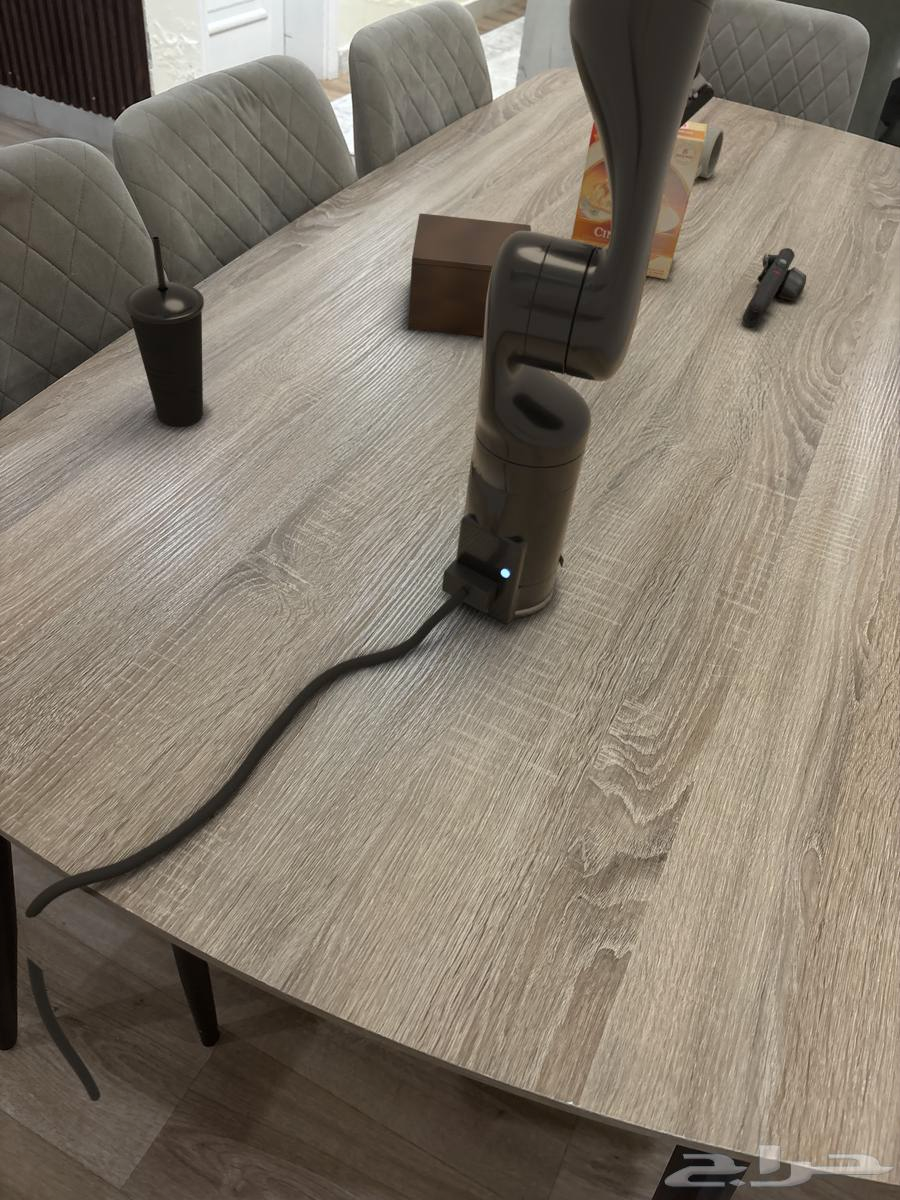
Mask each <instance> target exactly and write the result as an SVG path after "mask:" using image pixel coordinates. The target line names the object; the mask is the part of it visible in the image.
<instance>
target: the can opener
mask: <svg viewBox="0 0 900 1200" xmlns="http://www.w3.org/2000/svg"><path fill="white" fill-rule="evenodd" d="M794 259H795V252H794V251H793V249H792V248H789V247H785V248H782V249H780V251H778V254H771V253H768V254H767V253H764V254H763V258H761V259H760V260H761V261H762V268H763V269H762V271H761V273H760V274H759V275H758V276H757V281H758V283H759V284H758V286H757V288H756V290H755V291H754V294H753V295H752V298H751V299H750V301H749V303H748V304H747V306H746V308H745V310H744V313H743V316H742V321H743V323H744V324H745V325H746V326H748V327H755V326H757V325H758V324H759V323H760V321H761V320H762V318H763V317H764V315H765V313H766V312H767V310H768V309H769V307H770V304H771V302H772V300H773V299H774V297H775V295H776V294H777V297H779V298H782V299H786V300H788V301H791V302H792V301H794V300H796V299H797V298H798V297H799V296H800V295H801V293H802V292H803V290H804V289H805V286H806V283H807V274H805V273H804V272H802V271H801V270H799V269H798V268H797V267H795V266H793V267H792V268H790V266H791V264H792V262H793V261H794Z"/></svg>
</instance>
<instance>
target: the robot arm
mask: <svg viewBox="0 0 900 1200" xmlns="http://www.w3.org/2000/svg"><path fill="white" fill-rule="evenodd" d="M716 2H717V0H570V1H569V6H568V16H567V17H568V19H567V20H568V21H567V22H568V23H567V24H568V32H569V40H570V45H571V50H572V54H573V58H574V61H575V65H576V69H577V72H578V76H579V80H580V83H581V86H582V89H583V92H584V95H585V98H586V101H587V104H588V107H589V110H590V114H591V116H592V119H593V122H594V123H595V126H596V129H597V133H598V137H599V140H600V144H601V148H602V153H603V158H604V162H605V167H606V172H607V177H608V184H609V192H610V200H611V232H610V240H609V244H608V245H607V246H605V247H603V246H596V245H593V244H588V243H583V242H579V241H574V240H571V239H569V238H565V237H559V236H554V235H550V234H545V233H542V232H537V231H532V230H531V231H518V232H515V233H513V234H511V235H510V236H509V237H508V238H507V239H506V240H505V241H504V243H503V244H502V246H501V248H500V249H499V251H498V253H497V256H496V258H495V261H494V264H493V267H492V271H491V275H490V280H489V285H488V291H487V297H486V308H485V319H484V336H482V337H483V338H482V339H483V340H482V354H481V355H482V357H481V358H482V359H481V370H480V371H481V372H480V380H479V389H478V398H477V410H476V411H477V412H476V419H475V426H474V427H475V429H474V435H473V443H472V451H471V456H470V465H469V471H468V472H469V474H468V481H467V489H466V497H465V503H464V512H463V516H462V518H461V519H460V524H459V531H458V532H459V533H458V540H457V548H456V555H455V556H456V558H455V560H454V561H453V562H452V563H450V564H449V565H448V566H447V568H446V569H444V571H443V577H442V578H443V579H442V588H441V591H442V592H444V593H446V594H448V595H450V598H449V599H447V600H446V601H445V602H444V603H443V604H442V605H441V606H440V607H438V608H437V610H436V611H435V612H434V613H432V614H431V616H430V617H428V618H427V619H426V620H425V622H423V624H421V626H420V627H419V628H418V630H416V631H415V632H414V634H413V635H412V636H411V637H409V638H408V639H405V640H404V641H403V642H401V643H400V644H398V645H395V646H393V647H390V648H388V649H385V650H381V651H378V652H374V653H370V654H364V655H360V656H357V657H353V658H350V659H347V660H344V661H341V662H340V663H337V664H335V665H334V666H332V667H329V668H328V669H327V670H325V671H324V672H322V673H321V674H318V676H317V677H315V678H314V679H313V680H311V681H310V683H308V684H307V685H306V686H304V687H303V689H302V690H301V691H299V693H298V694H297V695H296V696H295V697H294V698H293V699H292V700H291V702H289V704H287V706H286V708H285V709H284V710H283V711H282V712H281V714H279V715H278V717H277V718H275V720H274V721H273V722H272V724H271V725H269V727H268V728H267V729H266V730H265V731H264V733H262V735H261V736H260V738H259V739H258V740H257V741H256V743H255V744H254V746H253V747H252V749H251V750H250V751H249V753H248V754H247V755H246V757H245V759H244V760H243V761H242V763H241V764H240V765H239V767H238V768H237V770H236V771H235V772H234V774H232V776H231V777H230V779H229V780H228V781H227V782H226V783H225V784H224V785H223V786H222V787H221V789H219V791H217V792H216V793H215V794H214V795H213V796H212V797H211V798H210V799H209V800H208V801H207V802H206V803H204V805H203V806H201V807H200V808H199V809H198V810H197V811H196V812H194V813H193V814H192V815H191V816H190V817H188V818H187V819H186V820H185V821H183V822H182V823H180V824H179V825H178V826H177V827H175V828H174V829H172V830H171V831H169V832H168V833H167V834H165V835H164V836H162V837H161V838H159V839H158V840H156V841H154V842H153V843H151V844H149V845H147V846H146V847H144V848H142V849H140V850H139V851H137V852H135V853H134V854H132V855H130V856H128V857H126V858H124V859H121V860H119V861H117V862H114V863H110V864H108V865H104V866H102V867H98V868H97V867H96V868H93V869H90V870H87V871H83V872H80V873H76V874H73V875H70V876H67V877H65V878H62V879H60V880H58V881H56V882H54V883H52V884H51V885H49V886H47V887H46V888H45V889H43V891H41V892H40V893H39V894H37V895H36V896H35V898H33V900H32V901H31V902H30V904H29V905H28V907H27V908H26V910H25V912H24V914H25V917H26V918H29V919H31V918H32V919H33V918H36V917H37V916H38V915H40V914H41V913H42V912H43V910H45V908H46V907H47V906H48V905H49V904H51V903H52V902H53V901H54V900H56V899H57V898H59V897H60V896H62V895H65V894H66V893H69V892H72V891H75V890H77V889H79V887H80V888H83V887H86V886H89V885H93V884H97V883H100V882H104V881H108V880H111V879H114V878H116V877H119V876H122V875H125V874H126V873H129V872H131V871H133V870H134V869H137V868H139V867H140V866H142V865H144V864H146V863H147V862H150V861H151V860H152V859H155V858H156V857H158V856H159V855H160V854H162V853H164V852H166V851H167V850H169V849H170V848H172V847H173V846H174V845H176V844H178V843H179V842H180V841H182V840H183V839H184V838H186V837H187V836H188V835H190V834H191V833H192V832H194V831H195V830H196V829H197V828H199V827H200V826H201V825H202V824H204V822H205V821H207V820H208V819H209V818H210V817H211V816H212V815H213V814H215V812H217V810H219V808H221V807H222V806H224V804H225V803H226V802H227V801H228V800H229V799H230V798H231V797H232V796H233V794H235V792H237V790H238V789H239V788H240V786H241V785H242V784H243V783H244V781H245V780H246V778H248V776H249V775H250V773H251V772H252V770H253V769H254V767H255V766H256V765H257V763H258V761H259V760H260V759H261V757H262V756H263V754H265V751H266V750H267V749H268V747H269V746H270V744H272V742H273V741H274V740H275V739H276V738H277V736H279V734H280V733H281V732H282V731H283V730H284V729H285V728H286V726H287V725H288V724H289V722H290V721H291V720H292V719H293V718H294V716H296V714H298V712H299V711H300V710H301V708H302V707H303V706H304V705H305V704H306V703H307V702H308V701H309V699H311V697H313V695H315V694H316V693H317V692H318V691H319V690H320V689H322V688H323V687H325V686H326V685H328V684H329V683H330V682H331V681H333V680H334V679H336V678H338V677H340V676H341V675H343V674H346V673H348V672H351V671H354V670H356V669H360V668H365V667H369V666H372V665H376V664H380V663H385V662H387V661H391V660H393V659H396V658H399V657H401V656H403V655H405V654H407V653H409V652H410V651H412V650H413V649H415V648H417V646H419V645H420V644H421V643H422V642H423V641H424V640H425V639H426V638H427V637H428V635H430V633H431V632H432V631H433V630H434V628H436V627H437V626H438V624H440V623H441V622H442V621H443V620H444V619H445V618H446V617H447V616H448V615H449V614H450V613H451V612H452V611H453V610H454V609H456V608H457V606H458V605H460V604H461V603H462V602H463V603H465V604H467V605H469V606H470V607H472V608H473V609H475V610H478V611H480V612H481V613H483V614H486V615H488V616H490V617H491V618H494V619H496V620H498V621H500V623H503V624H506V625H507V624H509V623H510V622H511V621H512V620H513V619H515V618H522V617H527V616H530V615H533V614H535V613H537V612H539V611H540V610H542V609H543V608H545V607H546V606H547V605H548V604H549V602H550V601H551V600H552V597H553V594H554V590H555V585H556V576H557V573H558V569H559V565H560V567H561V569H563V565H564V561H565V560H564V557H563V555H562V551H563V546H564V542H565V538H566V534H567V529H568V525H569V522H570V521H569V520H570V517H571V512H572V508H573V504H574V499H575V495H576V491H577V486H578V482H579V479H580V478H579V477H580V473H581V470H582V466H583V462H584V458H585V457H584V456H585V453H586V448H587V445H588V441H589V437H590V436H589V435H590V431H591V426H592V414H591V410H590V407H589V405H588V403H587V401H586V400H585V399H584V397H583V396H582V395H581V394H580V393H579V392H578V391H577V390H576V389H575V388H574V387H572V386H571V385H570V384H569V383H566V382H565V381H563V380H562V379H561V378H560V377H558V376H556V375H555V374H554V373H556V374H561V375H566V376H570V377H574V378H578V379H582V380H587V381H593V382H600V383H601V382H607V381H608V380H610V379H612V378H613V377H614V376H615V375H616V374H617V373H618V371H619V370H620V368H621V367H622V364H623V363H624V360H625V358H626V356H627V354H628V350H629V348H630V345H631V342H632V338H633V335H634V332H635V329H636V325H637V320H638V316H639V312H640V307H641V303H642V297H643V293H644V288H645V285H646V279H647V276H646V275H647V270H648V265H649V261H650V256H651V251H652V246H653V241H654V237H655V232H656V227H657V222H658V218H659V213H660V208H661V203H662V199H663V194H664V189H665V185H666V180H667V175H668V171H669V167H670V163H671V158H672V154H673V150H674V147H675V143H676V139H677V135H678V131H679V129H680V128H681V127H682V126H683V125H684V124H685V123H686V122H687V121H689V120H690V119H691V118H693V116H695V115H696V114H697V113H698V112H699V111H700V110H702V108H703V107H705V106H706V105H707V104H708V103H709V102H711V100H712V99H713V98H714V95H715V90H714V87H713V86H712V84H711V83H710V81H709V80H706V79H705V78H704V76H703V75H702V74H701V73H700V72H701V68H702V67H701V61H700V59H701V55H702V52H703V48H704V45H705V41H706V38H707V35H708V31H709V28H710V25H711V22H712V21H711V20H712V18H713V17H712V16H713V14H714V10H715V7H716ZM26 963H27V969H28V971H27V972H28V977H29V978H28V979H29V983H30V986H31V992H32V995H33V998H34V1002H35V1005H36V1008H37V1010H38V1013H39V1016H40V1018H41V1020H42V1022H43V1025H44V1027H45V1029H46V1030H47V1033H48V1035H49V1036H50V1038H51V1039H52V1041H53V1042H54V1044H55V1046H56V1047H57V1049H58V1050H59V1052H60V1053H61V1054H62V1056H63V1057H64V1059H65V1060H66V1061H67V1063H68V1065H69V1066H70V1068H71V1069H72V1070H73V1071H74V1073H75V1075H76V1076H77V1077H78V1079H79V1081H80V1082H81V1084H82V1085H83V1087H84V1089H85V1091H86V1093H87V1095H88V1097H89V1099H90V1101H92V1102H97V1101H99V1099H100V1098H101V1091H100V1089H99V1087H98V1085H97V1083H96V1081H95V1079H94V1077H93V1076H92V1074H91V1072H90V1071H89V1069H88V1067H87V1066H86V1064H85V1062H84V1061H83V1059H82V1058H81V1057H80V1054H78V1052H77V1051H76V1048H74V1046H73V1044H72V1043H71V1042H70V1040H69V1038H68V1037H67V1035H66V1034H65V1032H64V1030H63V1029H62V1027H61V1025H60V1023H59V1021H58V1019H57V1017H56V1015H55V1012H54V1010H53V1008H52V1005H51V1002H50V999H49V996H48V992H47V987H46V983H45V978H44V972H43V969H42V968H41V967H40V966H39V965H38V964H37V963H35V962H34V961H33V960H31V958H29V957H28V956H26Z"/></svg>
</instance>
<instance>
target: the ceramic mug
mask: <svg viewBox="0 0 900 1200" xmlns="http://www.w3.org/2000/svg"><path fill="white" fill-rule="evenodd" d="M723 143H724V130H723V129H720V128H714V127H709V126H707V130H706V135H705V140H704V145H703V150H702V153H701V157H700V161H699V164H698V168H697V172H696V175H695V179H694V180H696V179H697V178H698V177H700V178H704V179H709V178H710V177H711V176H712V175H713V173H714V172H715V169H716V167H717V164H718V161H719V159H720V156H721V153H722V147H723Z"/></svg>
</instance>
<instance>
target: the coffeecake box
mask: <svg viewBox="0 0 900 1200" xmlns="http://www.w3.org/2000/svg"><path fill="white" fill-rule="evenodd" d="M707 127H708V124H707V123H699V122H695V121H689V120H688V121H687V122H686V123H685V124H684V125H683V126H682V127H681V128H680V129H679V131H678V135H677V139H676V143H675V147H674V150H673V154H672V158H671V163H670V167H669V171H668V175H667V180H666V185H665V189H664V194H663V199H662V203H661V208H660V213H659V218H658V222H657V227H656V232H655V237H654V241H653V246H652V251H651V256H650V261H649V265H648V270H647V275H646V277H652V278H655V279H660V280H661V279H662V280H665V281H666V280H668V278H669V277H668V276H669V273H670V270H671V268H672V263H673V260H674V256H675V252H676V248H677V245H678V241H679V238H680V234H681V230H682V227H683V224H684V218H685V214H686V212H687V208H688V205H689V201H690V198H691V194H692V189H693V187H694V182H695V180H696V179H695V175H696V172H697V168H698V164H699V161H700V157H701V153H702V150H703V145H704V140H705V135H706V130H707ZM590 132H591V133H590V138H589V142H588V148H587V153H586V159H585V164H584V170H583V173H582V180H581V185H580V191H579V196H578V202H577V207H576V213H575V218H574V222H573V227H572V232H571V237H570V238H571V239H570V240H574V241H579V242H583V243H588V244H593V245H596V246H603V247H605V246H607V245H608V244H609V240H610V232H611V200H610V192H609V184H608V177H607V172H606V167H605V162H604V158H603V153H602V148H601V144H600V140H599V137H598V133H597V129H596V126H595V123H594V121H593V123H592V128H591V131H590Z"/></svg>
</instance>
